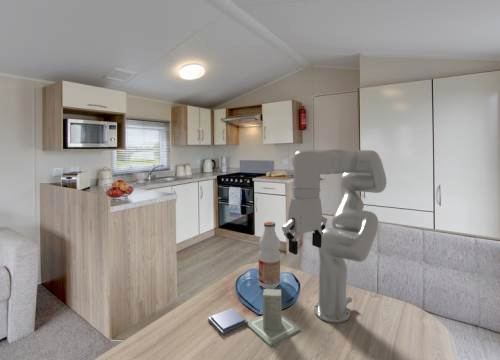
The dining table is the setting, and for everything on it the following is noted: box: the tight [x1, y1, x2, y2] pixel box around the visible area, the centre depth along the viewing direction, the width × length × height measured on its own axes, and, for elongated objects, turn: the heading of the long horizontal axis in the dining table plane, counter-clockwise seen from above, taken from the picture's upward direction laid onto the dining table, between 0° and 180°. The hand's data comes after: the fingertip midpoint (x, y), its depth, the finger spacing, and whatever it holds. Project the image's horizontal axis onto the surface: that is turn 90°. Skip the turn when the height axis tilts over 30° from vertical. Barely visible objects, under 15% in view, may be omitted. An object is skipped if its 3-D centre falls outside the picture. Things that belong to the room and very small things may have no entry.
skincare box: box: [262, 288, 283, 330], centre depth 94 cm, size 6×4×12 cm
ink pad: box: [208, 307, 249, 337], centre depth 98 cm, size 10×10×2 cm
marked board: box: [246, 315, 301, 347], centre depth 95 cm, size 13×13×1 cm
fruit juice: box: [258, 221, 281, 289], centre depth 123 cm, size 9×9×28 cm
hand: (305, 249), depth 84 cm, fingers open, 9 cm apart
